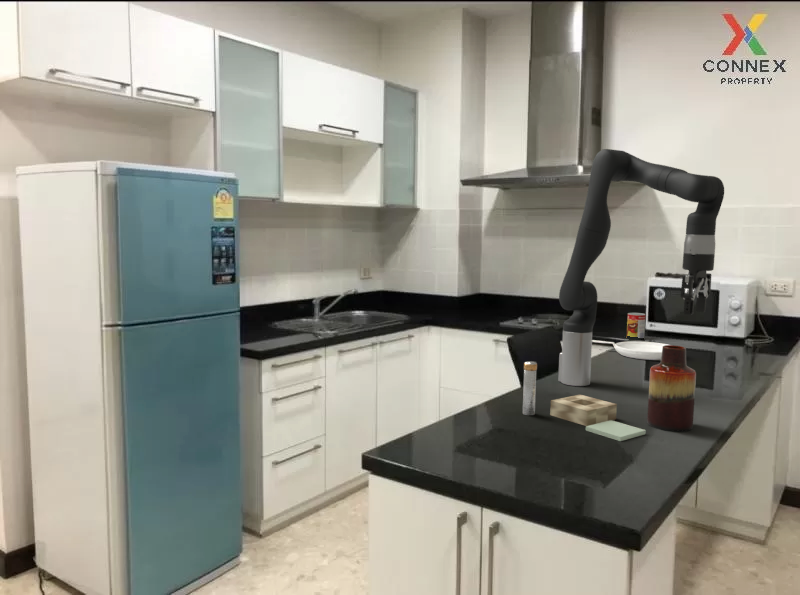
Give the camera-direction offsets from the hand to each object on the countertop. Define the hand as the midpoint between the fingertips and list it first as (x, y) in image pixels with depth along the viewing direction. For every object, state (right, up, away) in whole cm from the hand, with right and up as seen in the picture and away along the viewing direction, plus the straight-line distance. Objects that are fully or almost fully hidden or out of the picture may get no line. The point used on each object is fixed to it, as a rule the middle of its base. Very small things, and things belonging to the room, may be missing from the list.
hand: (694, 313), depth 171 cm
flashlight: (-44, -27, +2) cm, 52 cm away
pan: (+16, -20, +93) cm, 97 cm away
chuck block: (-30, -28, -1) cm, 41 cm away
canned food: (+33, -16, +132) cm, 137 cm away
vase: (-9, -29, -7) cm, 31 cm away
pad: (-26, -29, -13) cm, 41 cm away
